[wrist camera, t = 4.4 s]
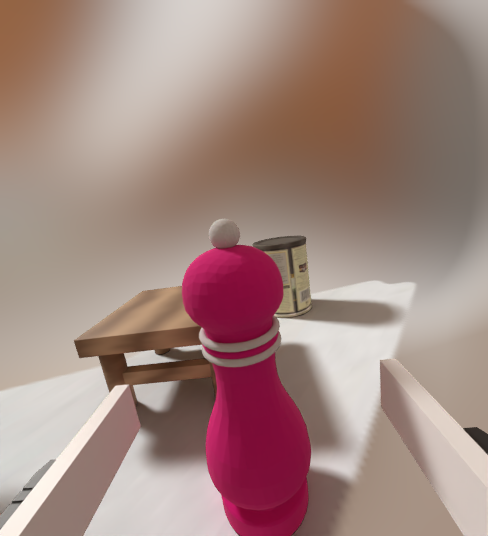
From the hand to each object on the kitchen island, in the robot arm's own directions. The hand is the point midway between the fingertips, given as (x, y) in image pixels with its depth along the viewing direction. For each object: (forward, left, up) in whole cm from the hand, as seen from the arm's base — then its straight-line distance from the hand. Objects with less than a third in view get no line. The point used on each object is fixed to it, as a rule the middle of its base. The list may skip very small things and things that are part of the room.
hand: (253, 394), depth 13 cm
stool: (-11, +19, -11) cm, 24 cm away
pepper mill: (-1, +3, -11) cm, 12 cm away
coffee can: (+5, +37, -11) cm, 39 cm away
